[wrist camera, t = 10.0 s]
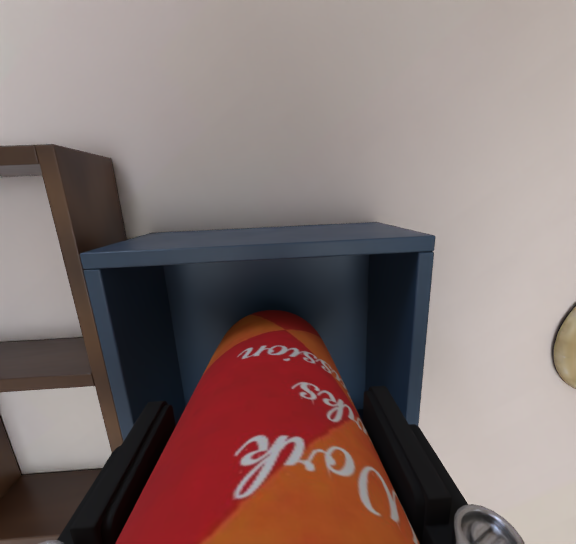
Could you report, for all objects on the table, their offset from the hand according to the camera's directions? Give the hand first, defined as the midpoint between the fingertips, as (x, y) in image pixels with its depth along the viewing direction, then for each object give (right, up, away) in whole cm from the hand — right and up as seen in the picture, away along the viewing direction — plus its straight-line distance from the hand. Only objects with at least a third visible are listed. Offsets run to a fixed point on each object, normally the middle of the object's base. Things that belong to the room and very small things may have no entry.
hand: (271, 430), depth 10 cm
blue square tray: (0, +2, +7) cm, 8 cm away
